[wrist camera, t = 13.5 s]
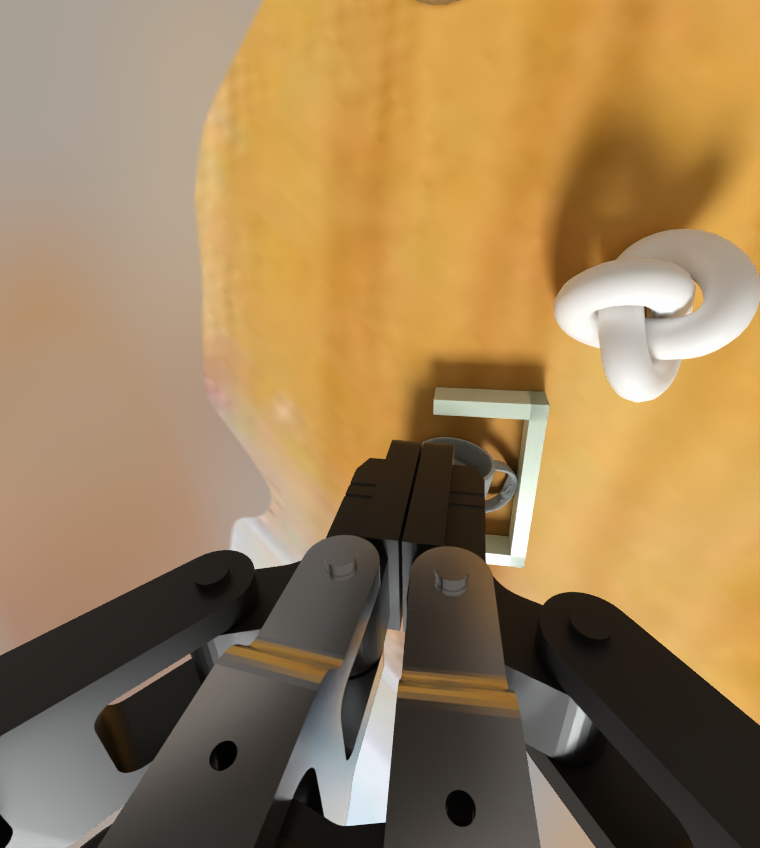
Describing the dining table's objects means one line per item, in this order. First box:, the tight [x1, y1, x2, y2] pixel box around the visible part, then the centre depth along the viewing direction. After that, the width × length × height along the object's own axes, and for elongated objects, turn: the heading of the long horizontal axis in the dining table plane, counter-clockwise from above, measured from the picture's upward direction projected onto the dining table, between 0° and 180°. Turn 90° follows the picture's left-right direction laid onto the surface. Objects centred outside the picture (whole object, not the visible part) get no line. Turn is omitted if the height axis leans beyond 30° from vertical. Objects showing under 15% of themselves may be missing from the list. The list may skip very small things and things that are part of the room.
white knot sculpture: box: [554, 229, 760, 402], centre depth 33 cm, size 11×12×9 cm
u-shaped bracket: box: [433, 387, 550, 568], centre depth 45 cm, size 10×19×3 cm, turn 2°
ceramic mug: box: [422, 437, 518, 513], centre depth 43 cm, size 11×8×8 cm
